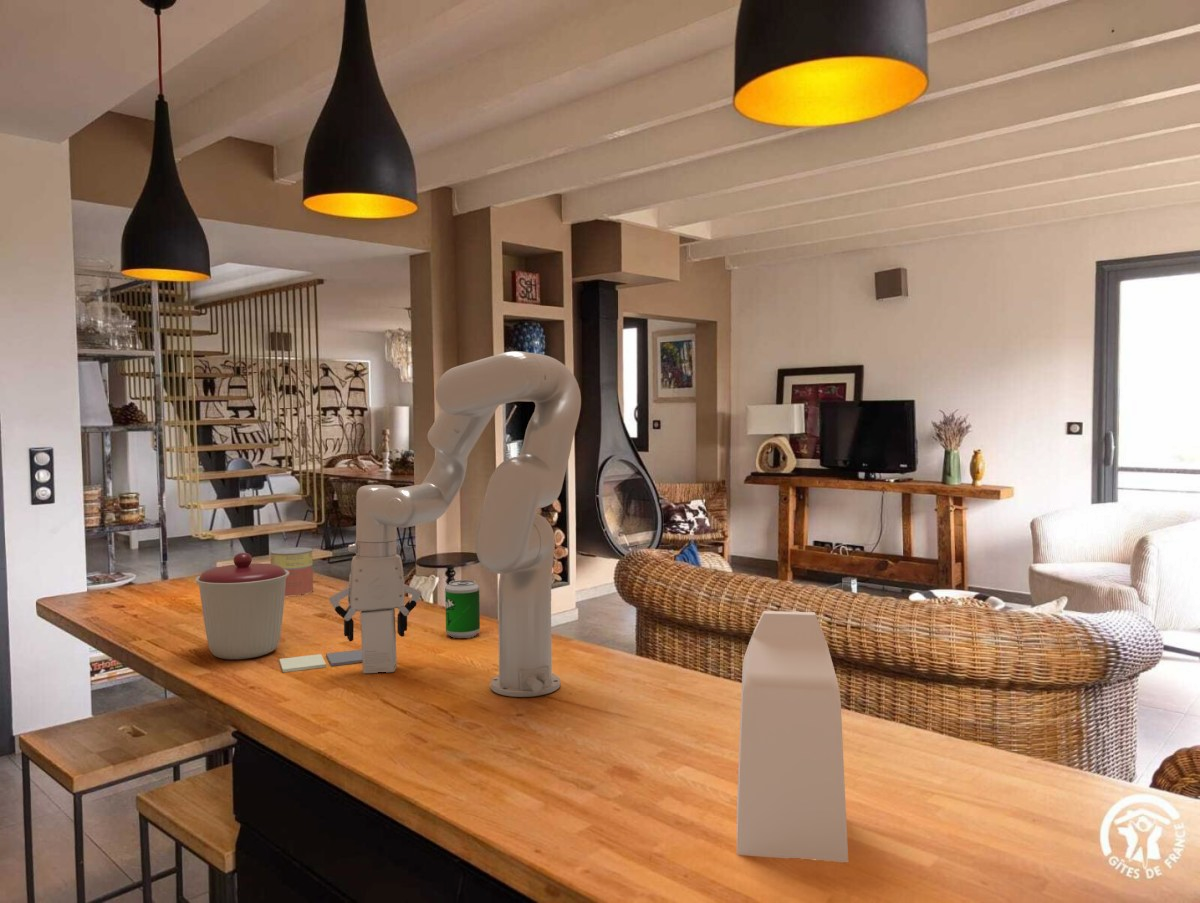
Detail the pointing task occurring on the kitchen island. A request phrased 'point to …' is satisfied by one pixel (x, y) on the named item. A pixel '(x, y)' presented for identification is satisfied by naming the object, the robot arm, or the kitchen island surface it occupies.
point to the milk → (790, 744)
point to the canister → (243, 607)
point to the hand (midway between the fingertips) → (375, 637)
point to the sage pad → (302, 663)
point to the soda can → (462, 609)
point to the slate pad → (344, 657)
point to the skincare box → (378, 641)
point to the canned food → (295, 568)
